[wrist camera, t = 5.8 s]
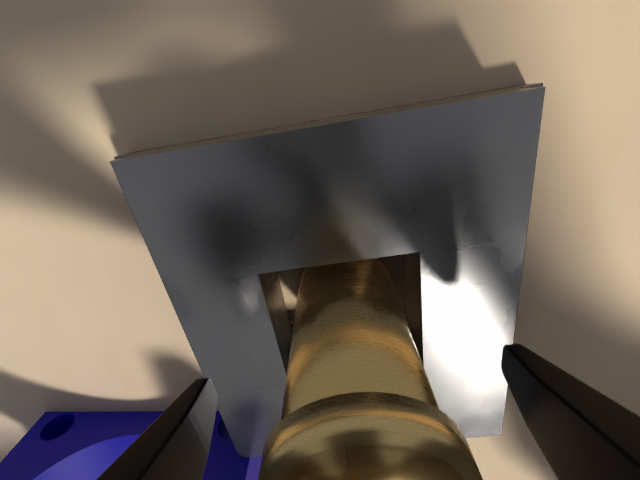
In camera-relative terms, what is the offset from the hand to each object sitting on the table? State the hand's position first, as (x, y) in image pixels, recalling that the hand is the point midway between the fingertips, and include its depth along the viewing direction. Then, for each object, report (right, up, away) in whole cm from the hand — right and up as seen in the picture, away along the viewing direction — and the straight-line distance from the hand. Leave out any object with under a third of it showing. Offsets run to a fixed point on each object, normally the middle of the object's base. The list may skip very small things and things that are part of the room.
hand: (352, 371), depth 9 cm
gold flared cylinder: (0, +2, +4) cm, 5 cm away
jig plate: (0, +2, +4) cm, 4 cm away
